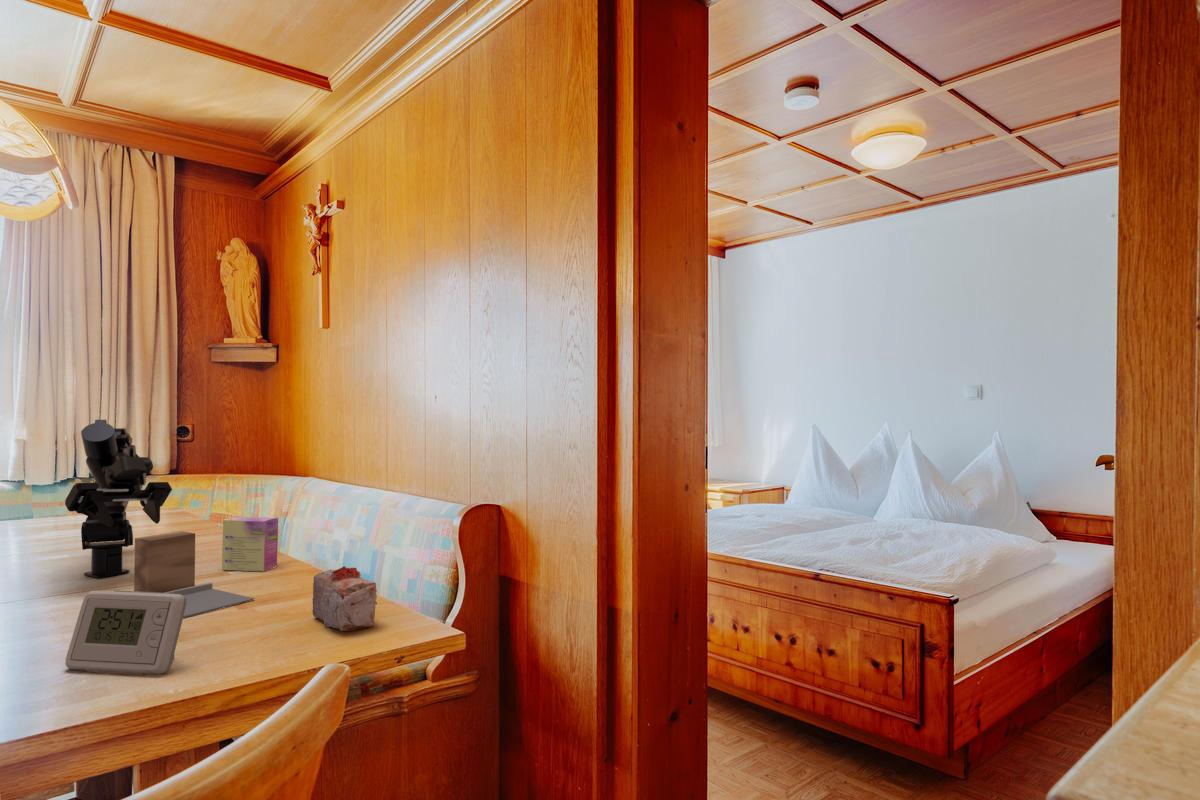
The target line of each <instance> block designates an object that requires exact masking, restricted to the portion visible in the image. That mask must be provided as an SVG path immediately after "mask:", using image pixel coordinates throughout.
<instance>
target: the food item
mask: <svg viewBox="0 0 1200 800" xmlns="http://www.w3.org/2000/svg"><path fill="white" fill-rule="evenodd" d="M360 572H361V571H358V569H357V567H346V566H342V567H340V568H338V569H328V570H326V571H322V572H319V573H317V574H315V575H314V576H313V583H312V595H313V596H312V615H313V617H314V618H315V619H319V620H321V621H323V626H324V628H333V629H336V630H339V631H340V632H352V631H357V630H364V629H368V628H372V627H374V626H375V620H376V619H375V617H376V605H378V601H377V592H378V591H377V583H376V582H375V581H371V580H368V579H365V578H363V577H361V573H360Z"/></svg>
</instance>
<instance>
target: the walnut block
mask: <svg viewBox="0 0 1200 800" xmlns="http://www.w3.org/2000/svg"><path fill="white" fill-rule="evenodd" d="M133 574H134V578H133V584H134V585H133V586H134V587H133V591H139V592H162V593H165V592H169V591H174V590H178V589H183V588H187V587H192V586H196V584H195V583H196V579H195V578H196V577H195V576H196V575H195V574H196V533H194V532H188V531H183V530H179V531H174V532H168V533H167V532H166V533H160V534H153V535H148V536H146V535H145V536H140V537H135V538H134V573H133Z"/></svg>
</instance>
